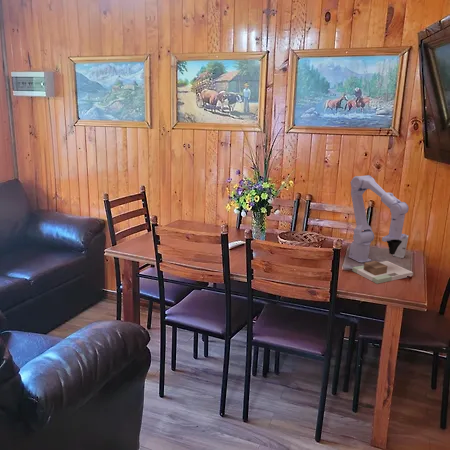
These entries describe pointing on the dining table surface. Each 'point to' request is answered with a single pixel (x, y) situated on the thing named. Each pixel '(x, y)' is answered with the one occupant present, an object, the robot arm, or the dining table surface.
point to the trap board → (392, 273)
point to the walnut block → (375, 268)
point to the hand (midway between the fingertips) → (391, 253)
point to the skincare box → (401, 248)
